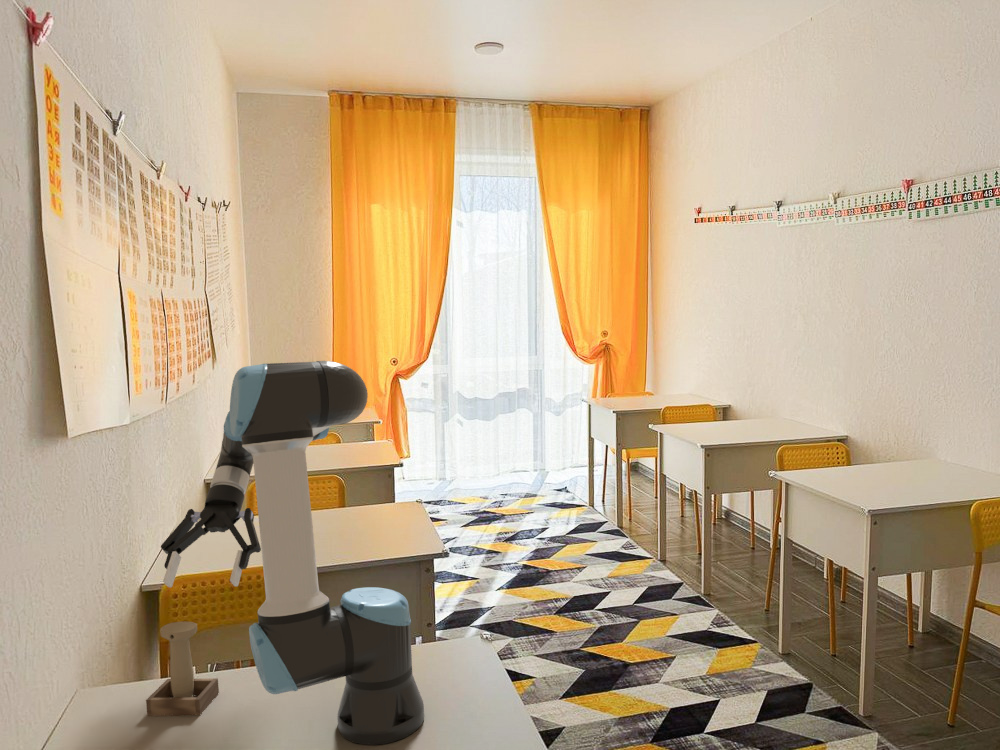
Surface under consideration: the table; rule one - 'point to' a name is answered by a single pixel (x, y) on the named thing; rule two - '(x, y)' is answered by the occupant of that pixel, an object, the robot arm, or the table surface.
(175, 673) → the handle
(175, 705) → the socket block
